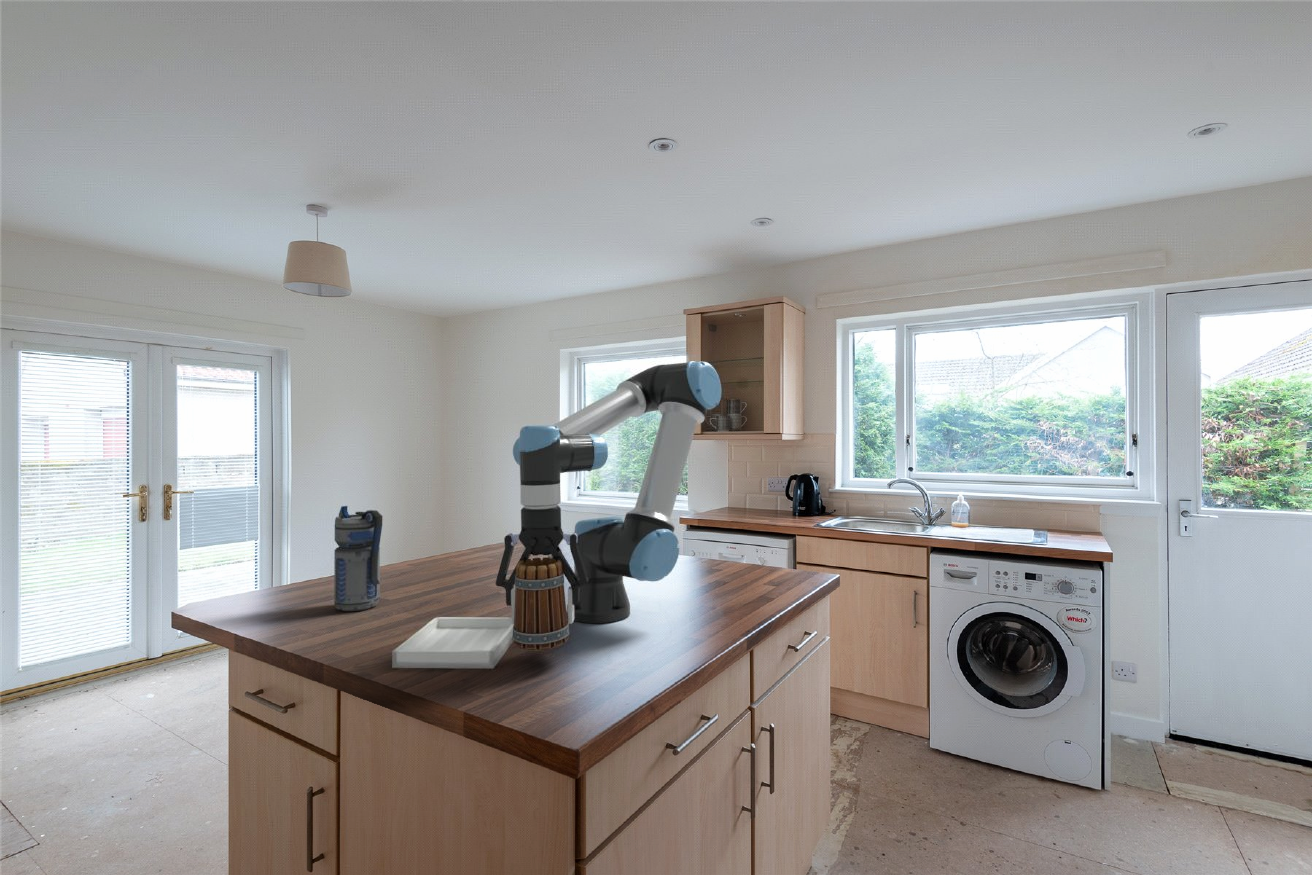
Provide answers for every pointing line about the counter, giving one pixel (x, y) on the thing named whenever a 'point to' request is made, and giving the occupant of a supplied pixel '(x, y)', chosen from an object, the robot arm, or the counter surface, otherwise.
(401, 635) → the counter surface
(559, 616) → the mug
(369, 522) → the grey blue grenade canister
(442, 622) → the white tray
